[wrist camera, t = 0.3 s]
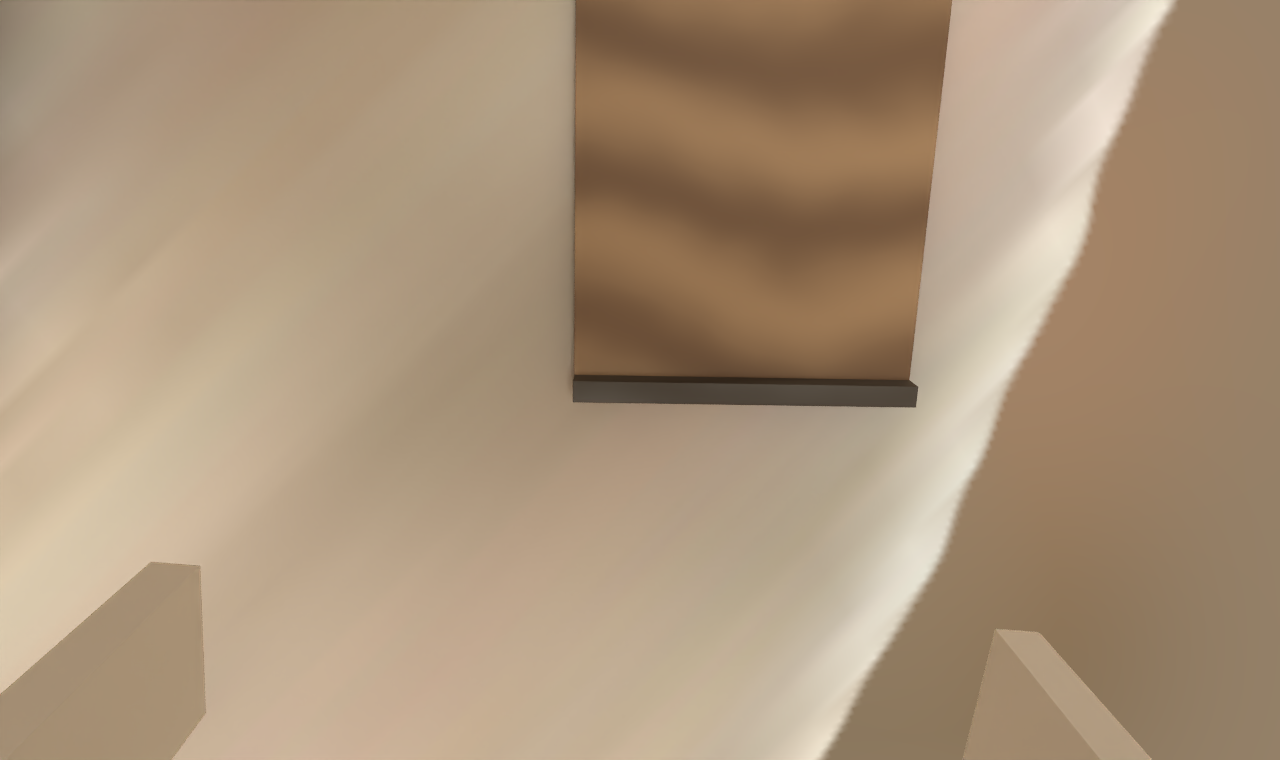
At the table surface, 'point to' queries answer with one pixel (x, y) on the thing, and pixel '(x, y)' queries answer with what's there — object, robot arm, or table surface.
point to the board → (752, 198)
